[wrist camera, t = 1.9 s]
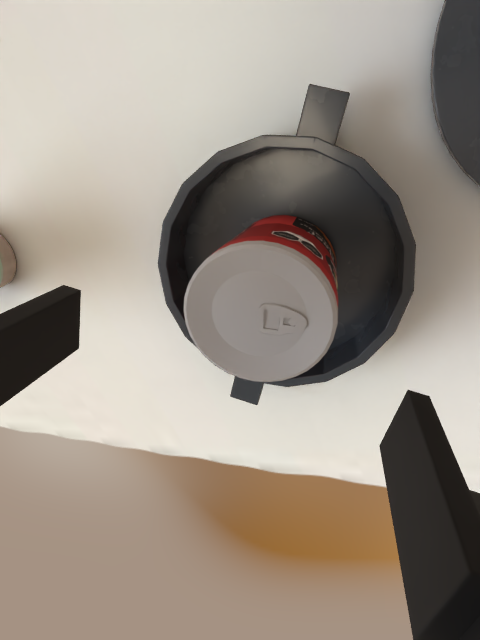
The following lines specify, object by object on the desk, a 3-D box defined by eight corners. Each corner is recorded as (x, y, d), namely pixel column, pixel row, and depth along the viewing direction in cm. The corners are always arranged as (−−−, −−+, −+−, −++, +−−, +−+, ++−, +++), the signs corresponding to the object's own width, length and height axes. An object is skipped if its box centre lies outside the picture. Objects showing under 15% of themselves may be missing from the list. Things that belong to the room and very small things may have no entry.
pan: (467, 126, 23) (491, 120, 19) (344, 410, 33) (346, 440, 29) (203, 69, 25) (182, 54, 21) (163, 352, 35) (144, 373, 31)
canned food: (343, 302, 28) (348, 377, 19) (245, 317, 31) (204, 389, 21) (328, 201, 26) (324, 225, 16) (222, 225, 28) (163, 259, 18)
